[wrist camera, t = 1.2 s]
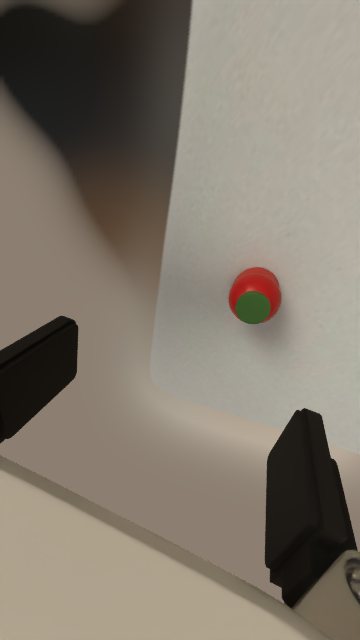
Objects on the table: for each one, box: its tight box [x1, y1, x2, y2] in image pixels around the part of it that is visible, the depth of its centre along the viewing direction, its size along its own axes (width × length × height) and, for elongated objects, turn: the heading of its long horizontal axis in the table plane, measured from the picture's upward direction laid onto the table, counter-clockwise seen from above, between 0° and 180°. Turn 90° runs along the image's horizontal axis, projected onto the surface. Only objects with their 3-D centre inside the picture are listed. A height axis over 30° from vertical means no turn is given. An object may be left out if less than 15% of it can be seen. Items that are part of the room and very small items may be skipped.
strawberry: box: [229, 268, 281, 324], centre depth 22 cm, size 4×4×5 cm
